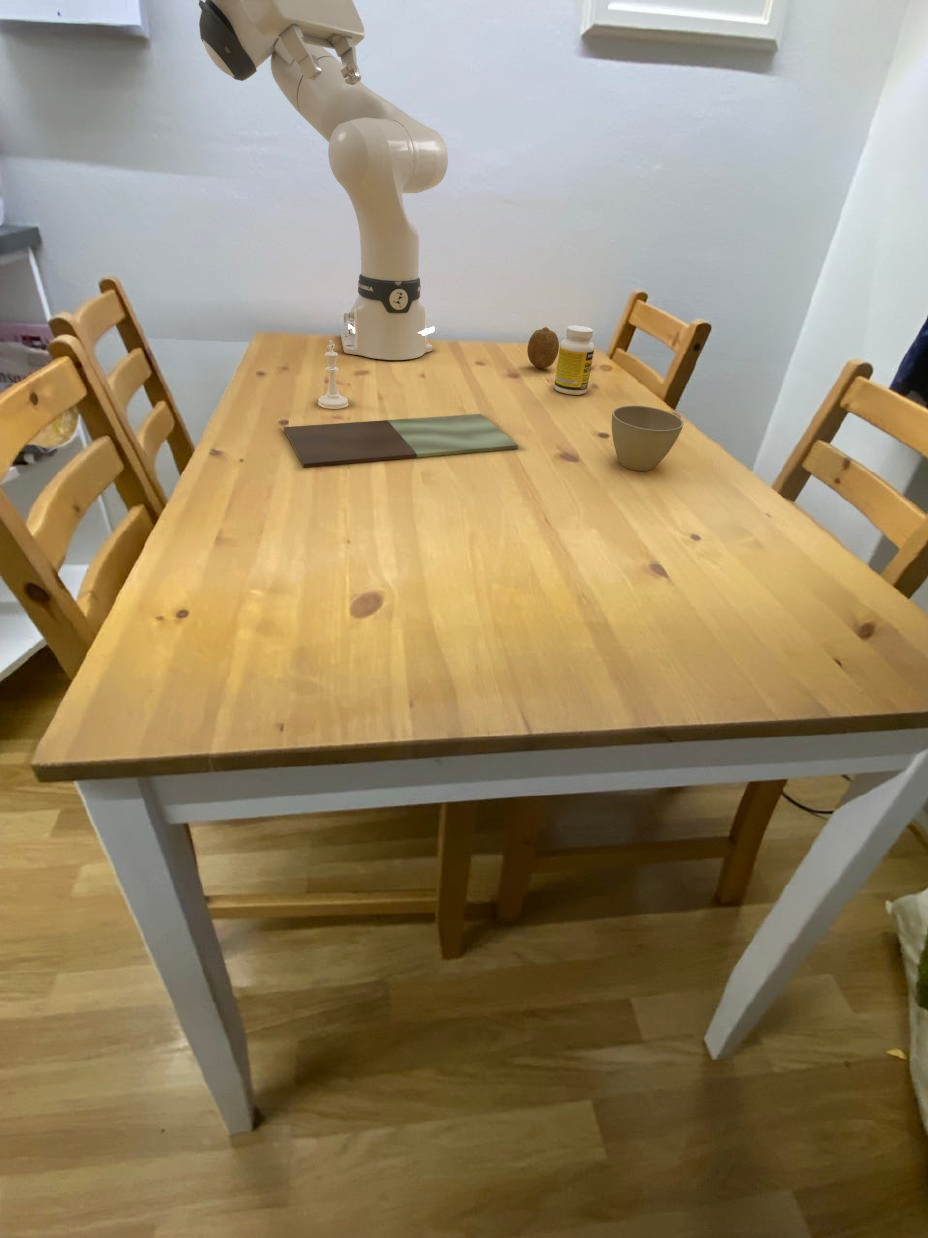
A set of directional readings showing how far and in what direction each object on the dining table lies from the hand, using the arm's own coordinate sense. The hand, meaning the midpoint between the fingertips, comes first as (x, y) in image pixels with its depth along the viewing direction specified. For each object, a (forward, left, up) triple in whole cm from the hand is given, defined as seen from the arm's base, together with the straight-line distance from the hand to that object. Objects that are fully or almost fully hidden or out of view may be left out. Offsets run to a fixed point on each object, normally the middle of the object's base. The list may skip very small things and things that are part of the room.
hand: (335, 79), depth 87 cm
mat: (+12, +5, -42) cm, 44 cm away
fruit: (-19, +45, -43) cm, 65 cm away
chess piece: (-5, -1, -43) cm, 43 cm away
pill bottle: (-5, +44, -43) cm, 62 cm away
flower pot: (+29, +36, -43) cm, 63 cm away
